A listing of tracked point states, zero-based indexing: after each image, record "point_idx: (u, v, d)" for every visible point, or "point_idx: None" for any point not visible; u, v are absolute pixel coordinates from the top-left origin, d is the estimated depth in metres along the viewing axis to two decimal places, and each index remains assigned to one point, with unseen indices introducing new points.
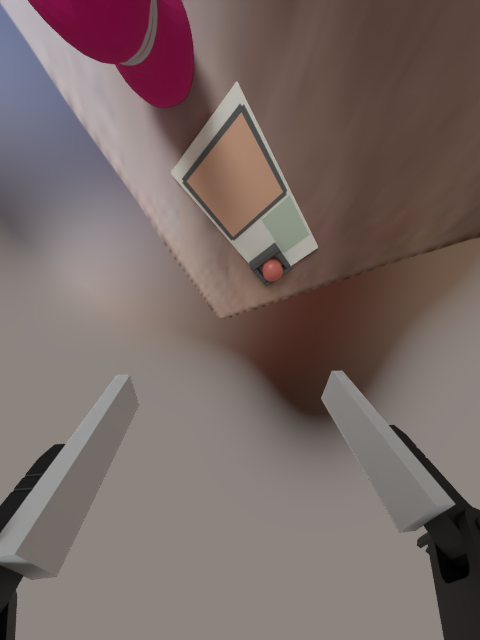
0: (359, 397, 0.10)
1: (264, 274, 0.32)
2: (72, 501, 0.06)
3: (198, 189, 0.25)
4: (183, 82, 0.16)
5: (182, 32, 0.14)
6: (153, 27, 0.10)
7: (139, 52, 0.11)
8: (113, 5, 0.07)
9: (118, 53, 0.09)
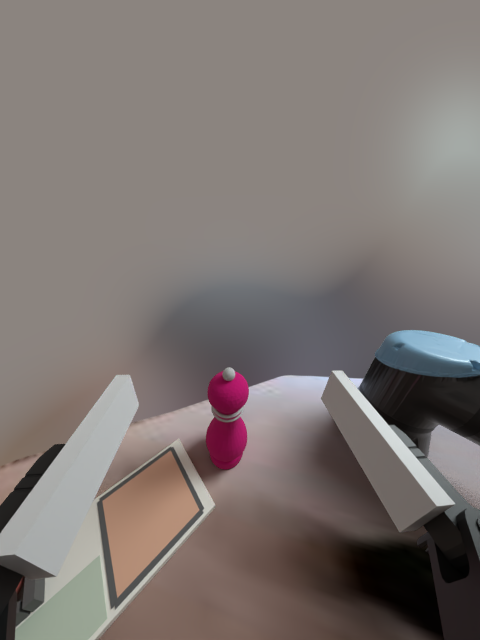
0: (359, 397, 0.10)
1: None
2: (72, 501, 0.06)
3: (162, 460, 0.30)
4: (212, 448, 0.28)
5: (226, 448, 0.27)
6: (219, 418, 0.25)
7: (212, 408, 0.26)
8: (214, 391, 0.23)
9: (208, 392, 0.24)
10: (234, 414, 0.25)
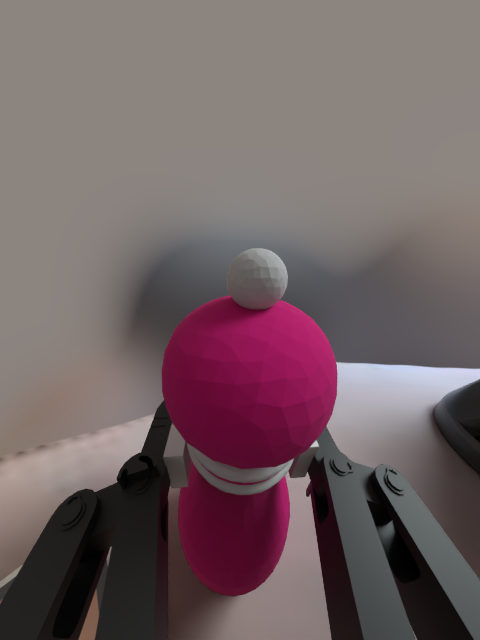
0: None
1: None
2: None
3: None
4: (191, 554, 0.09)
5: (237, 564, 0.08)
6: (211, 476, 0.06)
7: None
8: (184, 354, 0.04)
9: (162, 369, 0.05)
10: None
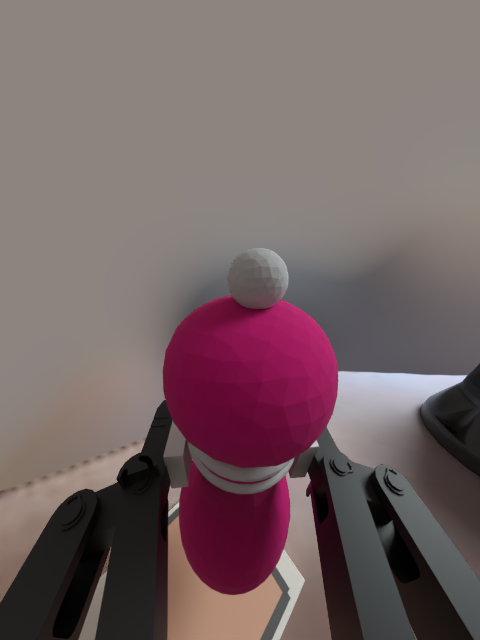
0: None
1: None
2: None
3: None
4: (192, 553, 0.09)
5: (237, 563, 0.08)
6: (212, 476, 0.06)
7: None
8: (185, 353, 0.04)
9: (163, 369, 0.05)
10: None
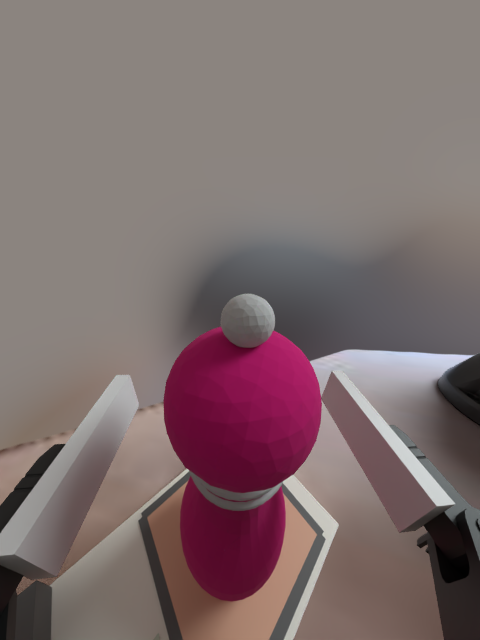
0: (359, 397, 0.10)
1: None
2: (72, 501, 0.06)
3: None
4: (192, 562, 0.09)
5: (235, 572, 0.09)
6: (209, 494, 0.07)
7: None
8: (183, 392, 0.05)
9: None
10: None
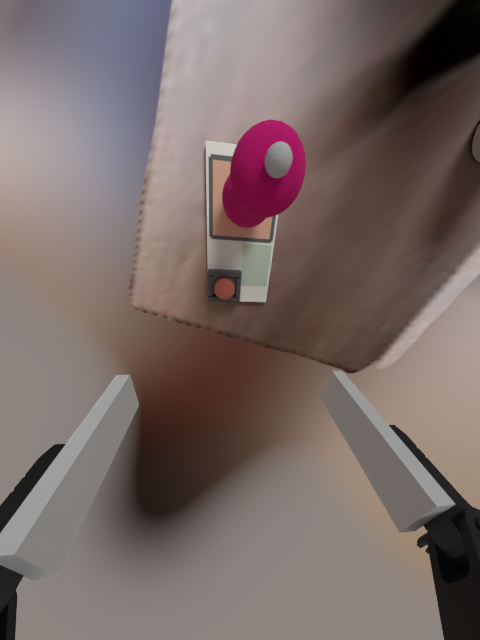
0: (359, 397, 0.10)
1: (216, 284, 0.30)
2: (72, 501, 0.06)
3: (216, 174, 0.26)
4: (250, 226, 0.25)
5: None
6: None
7: None
8: (267, 207, 0.14)
9: (250, 211, 0.15)
10: None
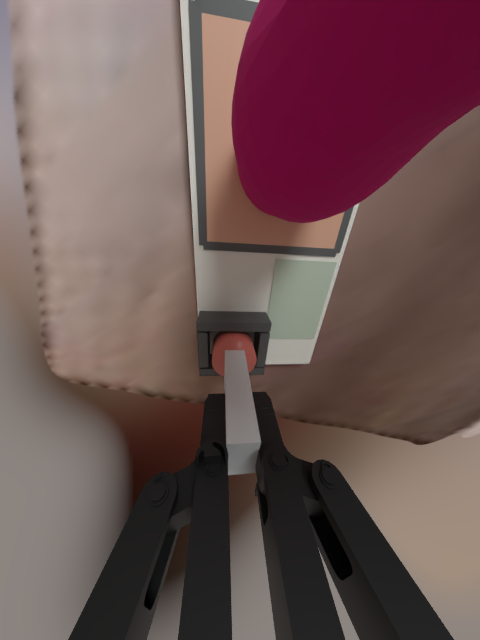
0: (242, 369, 0.11)
1: (217, 353, 0.13)
2: None
3: (212, 69, 0.09)
4: (323, 216, 0.08)
5: None
6: None
7: None
8: None
9: None
10: None
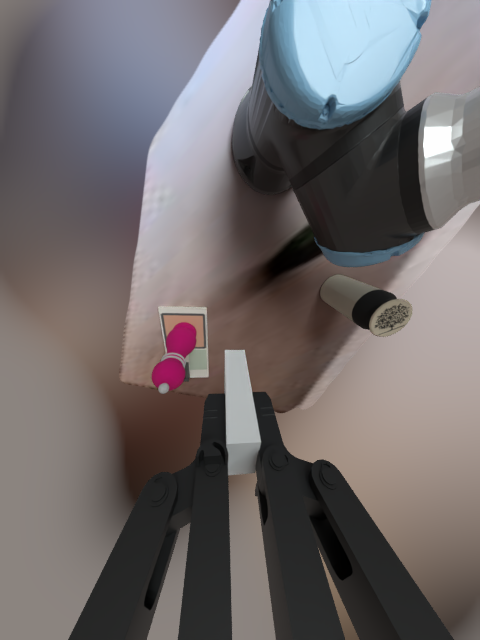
0: (242, 369, 0.11)
1: None
2: None
3: (166, 320, 0.46)
4: None
5: (190, 352, 0.43)
6: None
7: None
8: (168, 390, 0.33)
9: None
10: (183, 367, 0.36)
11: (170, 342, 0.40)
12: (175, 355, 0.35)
